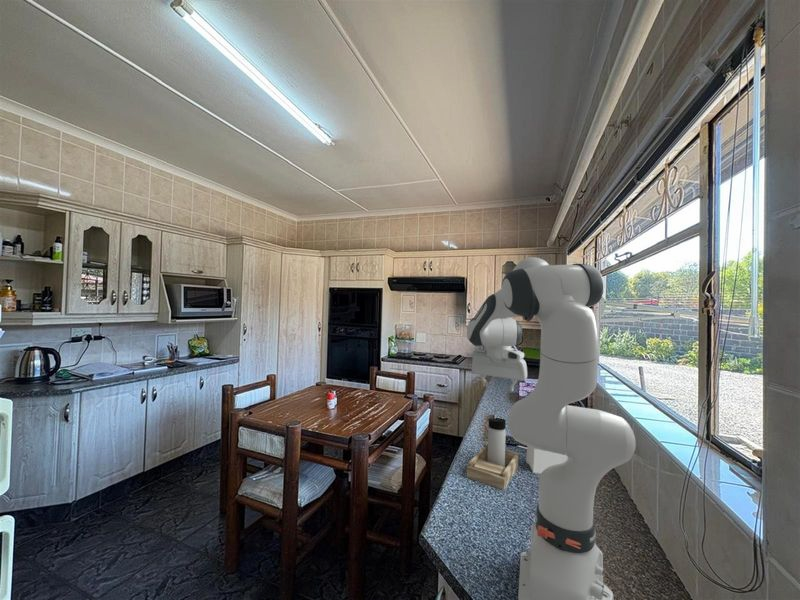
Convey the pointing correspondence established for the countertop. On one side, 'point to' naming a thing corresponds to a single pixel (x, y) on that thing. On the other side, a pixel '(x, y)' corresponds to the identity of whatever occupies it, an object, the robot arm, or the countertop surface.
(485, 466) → the offcut top
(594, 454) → the robot arm
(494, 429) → the travel mug
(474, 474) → the birch rack
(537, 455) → the milk
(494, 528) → the countertop surface
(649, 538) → the countertop surface
